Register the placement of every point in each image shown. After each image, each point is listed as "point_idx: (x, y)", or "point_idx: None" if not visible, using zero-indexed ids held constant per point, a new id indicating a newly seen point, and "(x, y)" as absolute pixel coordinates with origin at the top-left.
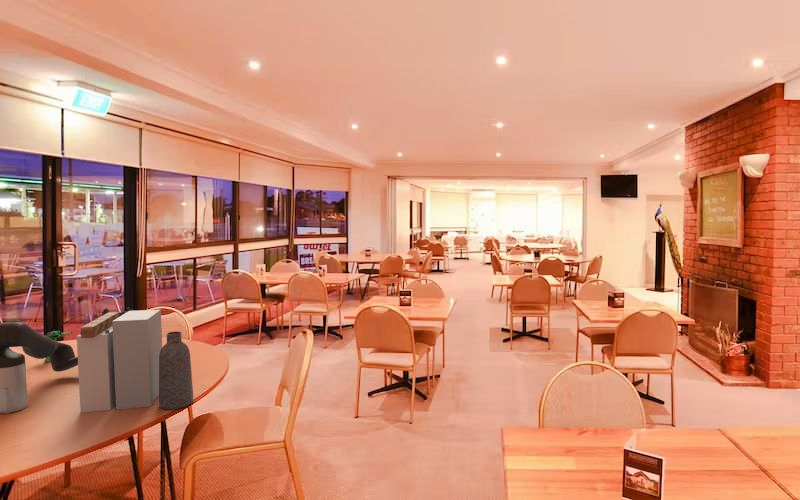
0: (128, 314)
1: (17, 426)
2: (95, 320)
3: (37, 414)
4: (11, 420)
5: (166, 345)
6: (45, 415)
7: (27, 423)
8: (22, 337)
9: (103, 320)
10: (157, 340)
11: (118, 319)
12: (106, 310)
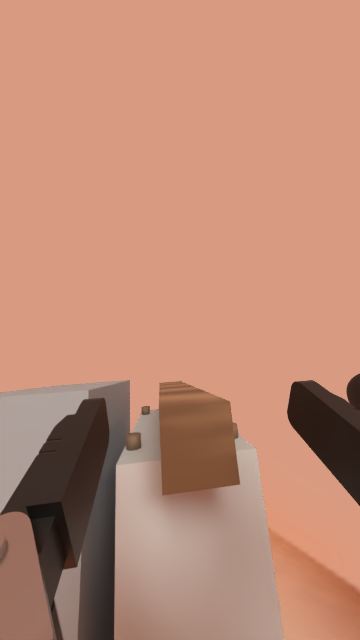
0: (94, 385)
1: (297, 562)
2: (184, 385)
3: (336, 633)
4: (353, 594)
5: None
6: (303, 623)
7: (294, 575)
8: (357, 409)
9: (161, 386)
10: None
11: (118, 381)
12: (295, 400)
